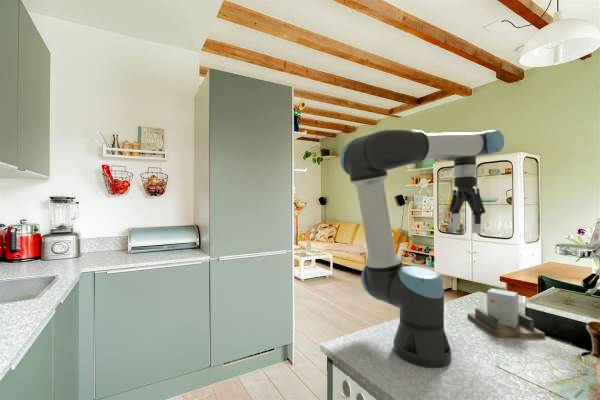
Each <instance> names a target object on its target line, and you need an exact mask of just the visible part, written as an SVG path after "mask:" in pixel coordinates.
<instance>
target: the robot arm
mask: <svg viewBox="0 0 600 400" xmlns="http://www.w3.org/2000/svg"><path fill="white" fill-rule="evenodd" d="M504 145H505V138H504V135H503V133H502V132H501V131H500V130H498V129H492V130H488V129H487V130H486V131H481V132H480V131H479V132H441V133H440V132H439V133H437V132H436V133H435V132H434V133H433V132H431V133H429V132H428V133H426V132H424V131H422V130H421V129H383V130H378V131H376V132H372V133H370V134H367V135H363V136H359V137H356V138H355V139H353V140H350V141H348V142H347V143H345V145H344V147H343V148H342V149H341V152H340V157H339V162H340V166H341V169H342V170H343V172H345V174H347V175H348V176H349V178H350V183H352V184H353V185H354V186H355V188H356V192H357V197H358V202H359V209H360V210H359V211H360V214H361V220H362V226H363V231H364V237H365V242H366V251H367V255H368V258H367V259H366V260H365V262H364V264H365V266H364V267H363V269H362V270H363V271H362V272H361V275H360V276H361V277H360V280H361V281H360V282H361V284H362V287H363V290H364V291H365V292H366V293H367V294H368V295H369V296H372V297H373V299H376V300H379V301H382V302H384V303H387V304H389V305H391V306H393V307H396V308H397V309H399V324H398V327H397V329H396V333H395V335H394V338H393V351H394V353H395V354H396V355H397V356H398V357H399V358H400V359H402V360H404V361H406V362H409V363H410V364H412V365H416V366H420V367H426V368H441V367H444V366H447V365H449V364H450V363H451V362H452V349H451V345H450V342H449V339H448V337H447V334H446V332H445V324H444V323H445V318H444V317H445V313H444V312H445V308H444V306H445V288H444V280H443V277H442V276H440V274H439V273H438V272H436V271H434V270H432V269H429V268H426V267H420V266H416V265H406V266H403V262H402V261H403V260H402V257H400V255H397V254H396V249H395V243H394V238H393V237H394V236H393V232H392V231H393V230H392V226H391V220H390V213H389V207H388V202H387V201H388V199H387V195H386V190H385V189H386V187H385V181H386V179H387V177H388V171H390V170H393V169H397V168H401V167H404V166H408V165H415V164H420V163H422V162H423V161H425V160H433V159H435V160H436V159H437V160H439V161H450V162H451V161H453V176H454V182H453V183H454V185H453V186H454V188H457V189H453V191H452V197H451V201H450V206H449V208H448V211H449V212H451V214H452V230H454V231H455V230H461V212H460V210H461V209H462V207H463V204H464V203H465V202H467V204H468V206H469V208H470V210H471V212H472V213H471V233H473V234H480V233H482V231H481V230H482V229H481V227H482V226H481V225H482V224H481V223H482V219H481V218H482V215H483V214H486V209H485V206H484V203H483V200H482V197H481V194H480V188H478V187H476V186H477V177H476V176H477V156H478V157H479V156H486V155H492V154H497V153H500V152H501V151H503V149H504Z"/></svg>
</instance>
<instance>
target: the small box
mask: <svg viewBox="0 0 600 400" xmlns="http://www.w3.org/2000/svg"><path fill="white" fill-rule="evenodd" d="M486 305H487V306H486V307H487V310H486V311H487V312H486V313H488V314H489V315H491V316H493V317H494V318H496V319H498V324H501V325H505V326H509V327H513V328H516V326H517V325H518V323H519V314H518V312H519V293H518V292H517V291H516V292H515V291H509V290H505V289H497V288H493V287H492V288H490V289H488V290H487V291H486Z"/></svg>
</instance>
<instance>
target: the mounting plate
mask: <svg viewBox="0 0 600 400" xmlns="http://www.w3.org/2000/svg"><path fill="white" fill-rule="evenodd" d="M474 312H475V313H467V318H468V319H469V320H471V321H472V322H473V323H474V324H476V325H478V326H479V327H481V328H482V329H484V330H485V331H487V332H488V333H489V334H491V335H492V336H493V337H495V338H496V339H518V338H519V339H545V338H546V335H545V334H546V333H545V332H543V331H541V330H540V329H538V328H536V327H535V325H534V324H535V323H534V322H535V320H534V319H533V318H531V317H529V316H527V315H525V314H524V313H521V312H519V311H518V314H519V323H518V325H517V326H516V328H513V327H509V326H505V325H501V324H498V319H496V318H494V317H493V316H491V315H489V314H488V313H487V312H486V311H484V310H483V309H481V308H475V309H474Z"/></svg>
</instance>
